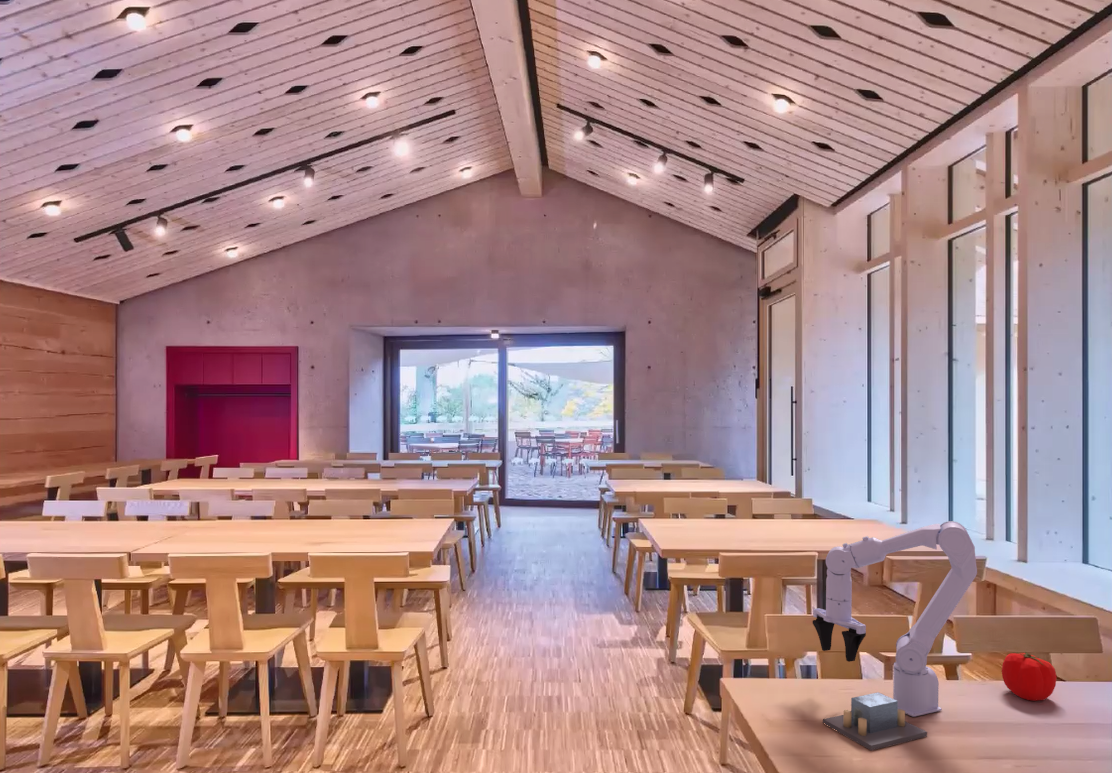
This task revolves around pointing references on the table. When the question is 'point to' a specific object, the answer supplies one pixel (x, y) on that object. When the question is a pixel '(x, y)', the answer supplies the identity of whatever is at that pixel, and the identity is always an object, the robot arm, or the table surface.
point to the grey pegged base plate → (876, 739)
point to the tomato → (1028, 676)
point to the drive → (875, 711)
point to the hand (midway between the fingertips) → (838, 655)
